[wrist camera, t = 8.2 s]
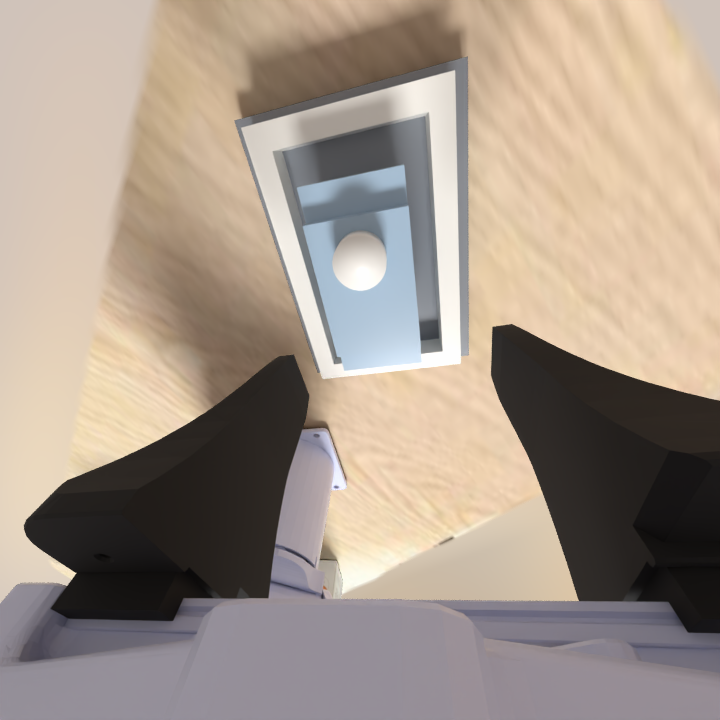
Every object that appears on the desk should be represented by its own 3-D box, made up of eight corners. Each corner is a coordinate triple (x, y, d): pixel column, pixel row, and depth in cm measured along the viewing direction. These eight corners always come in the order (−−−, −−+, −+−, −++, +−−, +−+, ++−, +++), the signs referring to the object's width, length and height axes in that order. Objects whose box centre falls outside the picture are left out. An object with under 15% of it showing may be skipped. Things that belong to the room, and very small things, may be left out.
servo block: (351, 334, 19) (340, 390, 15) (316, 180, 15) (284, 192, 10) (416, 326, 19) (425, 382, 14) (400, 162, 14) (406, 166, 9)
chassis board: (320, 364, 22) (313, 386, 20) (243, 122, 14) (218, 117, 12) (465, 346, 20) (474, 369, 18) (462, 62, 13) (477, 44, 11)
